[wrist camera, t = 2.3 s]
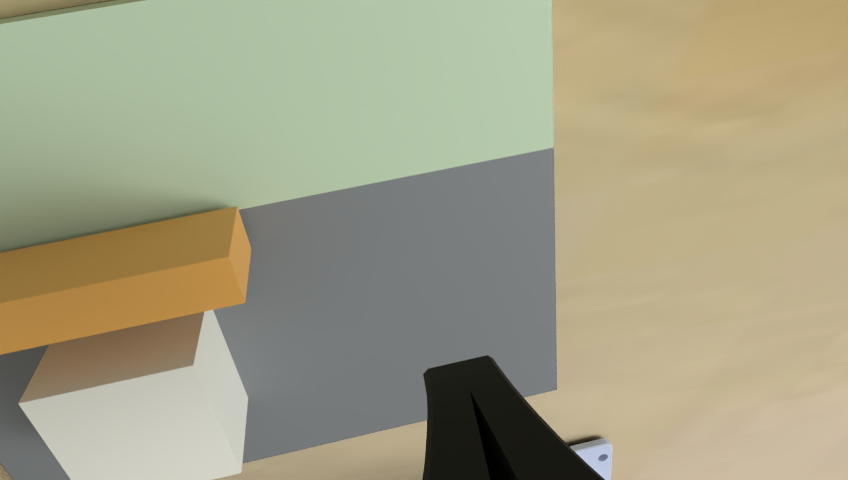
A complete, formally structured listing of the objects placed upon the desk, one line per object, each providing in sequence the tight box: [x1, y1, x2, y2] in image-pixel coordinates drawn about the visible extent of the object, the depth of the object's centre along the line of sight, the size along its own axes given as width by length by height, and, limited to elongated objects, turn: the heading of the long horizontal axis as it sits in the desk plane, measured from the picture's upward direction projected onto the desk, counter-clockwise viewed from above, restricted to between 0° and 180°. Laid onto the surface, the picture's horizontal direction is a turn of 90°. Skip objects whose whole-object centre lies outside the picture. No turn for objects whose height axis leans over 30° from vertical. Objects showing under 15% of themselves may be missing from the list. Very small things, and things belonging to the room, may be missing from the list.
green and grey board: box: [0, 0, 557, 480], centre depth 21 cm, size 18×22×1 cm
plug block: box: [18, 310, 248, 480], centre depth 20 cm, size 5×5×4 cm
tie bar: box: [0, 206, 251, 355], centre depth 18 cm, size 2×9×3 cm, turn 97°
